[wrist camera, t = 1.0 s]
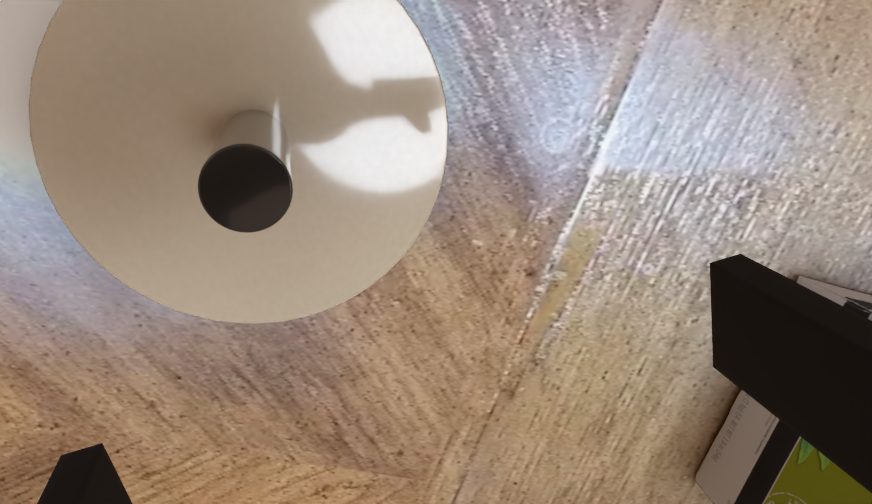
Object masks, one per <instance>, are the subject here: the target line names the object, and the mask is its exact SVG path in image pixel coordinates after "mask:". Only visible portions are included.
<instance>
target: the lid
mask: <svg viewBox="0 0 872 504" xmlns="http://www.w3.org/2000/svg"><path fill="white" fill-rule="evenodd" d="M29 118H30V135H31V140H32V145H33V150H34V155H35V159H36V164H37V166H38V169H39V172H40V175H41V178H42V181H43V183H44V186H45V189H46V191H47V193H48V195H49V197H50V199H51V201H52V203H53V205H54V207H55V209H56V211H57V213H58V215H59V216H60V217H61V219H62V220H63V222H64V223H65V225H66V226H67V228H68V229H69V230H70V232H71V233H72V235H73V236H74V238H75V239H76V240H77V241H78V242H79V243H80V244H81V246H82V247H83V248H84V249H85V250H86V251H87V252H88V253H89V254H90V256H91V257H92V258H93V259H94V260H95V261H97V262H98V263H99V264H100V265H101V266H102V267H103V268H105V269H106V270H107V271H108V272H109V273H110V274H111V275H113V276H114V277H115V278H117V279H118V280H120V281H121V282H123V283H124V284H126V285H127V286H128V287H130V288H131V289H133V290H134V291H136V292H138V293H140V294H142V295H143V296H145V297H147V298H149V299H151V300H153V301H155V302H157V303H159V304H161V305H164V306H166V307H169V308H172V309H174V310H177V311H179V312H182V313H185V314H189V315H193V316H197V317H200V318H204V319H208V320H215V321H222V322H230V323H252V324H260V323H271V322H282V321H287V320H292V319H297V318H302V317H306V316H309V315H312V314H315V313H318V312H321V311H324V310H328V309H330V308H332V307H334V306H336V305H338V304H341V303H343V302H345V301H347V300H349V299H351V298H352V297H354V296H356V295H357V294H359V293H360V292H362V291H364V290H365V289H367V288H369V287H370V286H371V285H372V284H374V283H375V282H376V281H377V280H379V279H380V278H381V277H382V276H384V275H385V274H386V273H387V272H388V271H389V270H390V269H391V268H392V267H393V266H394V265H395V264H396V263H397V262H398V261H399V260H400V259H401V258H402V257H403V256H404V255H405V253H406V252H407V251H408V249H409V248H410V247H411V245H412V244H413V243H414V241H415V240H416V239H417V237H418V236H419V234H420V232H421V230H422V229H423V227H424V225H425V224H426V222H427V220H428V218H429V216H430V214H431V211H432V209H433V207H434V204H435V202H436V200H437V197H438V194H439V191H440V187H441V183H442V180H443V176H444V172H445V165H446V158H447V152H448V118H447V109H446V100H445V96H444V91H443V87H442V83H441V79H440V75H439V72H438V70H437V67H436V64H435V62H434V59H433V56H432V54H431V51H430V49H429V47H428V45H427V43H426V41H425V40H424V38H423V36H422V34H421V32H420V30H419V28H418V26H417V25H416V24H415V22H414V21H413V19H412V18H411V16H410V15H409V14H408V12H407V11H406V9H405V8H404V6H403V5H402V4H401V3H400V2H399V0H63V2H62V4H61V5H60V7H59V8H58V10H57V12H56V13H55V15H54V17H53V18H52V20H51V21H50V23H49V25H48V28H47V30H46V33H45V35H44V37H43V40H42V42H41V44H40V47H39V49H38V53H37V57H36V61H35V65H34V69H33V73H32V77H31V88H30V99H29Z"/></svg>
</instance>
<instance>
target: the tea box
mask: <svg viewBox="0 0 872 504" xmlns="http://www.w3.org/2000/svg"><path fill="white" fill-rule="evenodd" d="M797 283H799V284H800V285H802V286H804V287H806V288H808V289H810V290H812V291H814V292H816V293H818V294H820V295H822V296H824V297H826V298H828V299H830V300H832V301H834V302H836V303H838V304H840V305H842V306H844V307H846V308H848V309H850V310H852V311H854V312H856V313H857V314H859V315H861V316H863V317H865V318H867V319H869V320H871V321H872V295H869V294H864V293H860V292H857V291H853V290H849V289H845V288H842V287H838V286H835V285H831V284H828V283H824V282H821V281H817V280H813V279H810V278H806V277H803V276H799V277H798V280H797ZM695 477H696V479H695V481H696V483H697V484H698V485H699V486H700V487H701V489H702V490H703V491H704V492H705V493H706V494H707V496H708V497H709V498H710V499H711V501H712V502H713V503H714V504H872V493H871V492H869V491H868V490H867V489H866V488H864V487H863V486H862V485H861V484H859V483H858V482H857V481H856V480H854V479H853V478H852V477H851V476H849V475H848V474H847V473H846V472H844V471H843V470H842V469H841V468H839V467H838V466H837V465H836V464H834V463H833V462H832V461H831V460H829V459H828V458H827V457H826V456H824V455H823V454H822V453H820V452H819V451H818V450H817V449H815V448H814V447H813V446H812V445H810V444H809V443H808V442H807V441H805V440H804V439H803V438H802V437H800V436H799V435H798V434H797V433H795V432H794V431H793V430H792V429H790V428H789V427H788V426H787V425H785V424H784V423H783V422H782V421H780V420H779V419H778V418H777V417H775V416H774V415H773V414H772V413H770V412H769V411H768V410H767V409H765V408H764V407H763V406H762V405H760V404H759V403H758V402H757V401H755V400H754V399H753V398H752V397H750V396H749V395H748V394H747V393H745V392H744V391H743V390H741V392H740V393H739V395H738V396H737V398H736V400H735V402H734V404H733V406H732V408H731V410H730V412H729V415H728V417H727V419H726V421H725V423H724V425H723V426H722V428H721V430H720V432H719V433H718V435H717V437H716V439H715V440H714V442H713V444H712V446H711V448H710V450H709V452H708V454H707V456H706V457H705V459H704V461H703V462H702V464H701V466H700V468H699V470H698V471H697V473H696V475H695Z"/></svg>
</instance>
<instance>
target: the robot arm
mask: <svg viewBox="0 0 872 504" xmlns="http://www.w3.org/2000/svg"><path fill="white" fill-rule="evenodd" d="M710 280H711V312H712V343H713V367H714V368H715V369H717V370H718V371H719V372H720V373H722V374H723V375H724V376H725V377H727V378H728V379H729V380H730V381H732V382H733V383H734V384H735V385H737V386H738V387H739V388H740V389H742V390H743V391H744V392H745V393H747V394H748V395H749V396H750V397H752V398H753V399H754V400H755V401H757V402H758V403H759V404H760V405H762V406H763V407H764V408H765V409H767V410H768V411H769V412H770V413H772V414H773V415H774V416H775V417H777V418H778V419H779V420H780V421H782V422H783V423H784V424H785V425H787V426H788V427H789V428H790V429H792V430H793V431H794V432H795V433H797V434H798V435H799V436H800V437H802V438H803V439H804V440H805V441H807V442H808V443H809V444H810V445H812V446H813V447H814V448H815V449H817V450H818V451H819V452H820V453H822V454H823V455H824V456H826V457H827V458H828V459H829V460H831V461H832V462H833V463H834V464H836V465H837V466H838V467H839V468H841V469H842V470H843V471H844V472H846V473H847V474H848V475H849V476H851V477H852V478H853V479H854V480H856V481H857V482H858V483H859V484H861V485H862V486H863V487H864V488H866V489H867V490H868V491H869V492H871V493H872V321H871V320H869V319H867V318H865V317H863V316H861V315H859V314H857V313H856V312H854V311H852V310H850V309H848V308H846V307H844V306H842V305H840V304H838V303H836V302H834V301H832V300H830V299H828V298H826V297H824V296H822V295H820V294H818V293H816V292H814V291H812V290H810V289H808V288H806V287H804V286H802V285H800V284H799V283H797V282H795V281H793V280H791V279H789V278H787V277H785V276H783V275H781V274H779V273H777V272H775V271H773V270H771V269H769V268H767V267H765V266H763V265H761V264H759V263H757V262H755V261H753V260H751V259H749V258H747V257H745V256H744V255H742V254H739V255H735V256H732V257H729V258H725V259H722V260H719V261H715V262H712V263H710ZM37 504H132V502H131V500H130V498H129V496H128V494H127V492H126V490H125V488H124V486H123V484H122V482H121V480H120V478H119V476H118V474H117V472H116V470H115V468H114V466H113V464H112V462H111V460H110V458H109V456H108V454H107V452H106V450H105V448H104V446H103V444H102V443H101V444H98V445H95V446H91V447H88V448H85V449H81V450H78V451H74V452H71V453H68V454H64V455H61V457H60V459H59V461H58V463H57V465H56V467H55V469H54V471H53V473H52V475H51V477H50V479H49V481H48V483H47V485H46V487H45V489H44V491H43V493H42V495H41V497H40V499H39V501H38V503H37Z"/></svg>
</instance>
